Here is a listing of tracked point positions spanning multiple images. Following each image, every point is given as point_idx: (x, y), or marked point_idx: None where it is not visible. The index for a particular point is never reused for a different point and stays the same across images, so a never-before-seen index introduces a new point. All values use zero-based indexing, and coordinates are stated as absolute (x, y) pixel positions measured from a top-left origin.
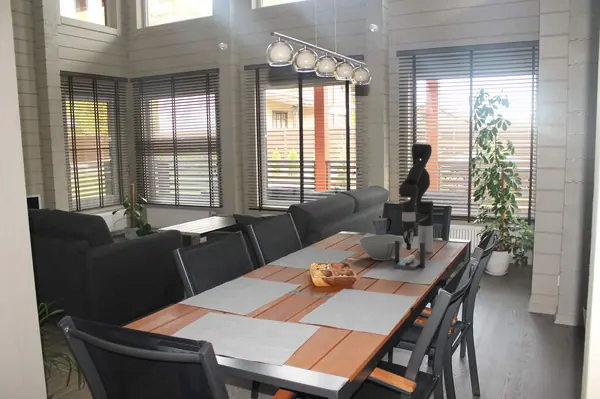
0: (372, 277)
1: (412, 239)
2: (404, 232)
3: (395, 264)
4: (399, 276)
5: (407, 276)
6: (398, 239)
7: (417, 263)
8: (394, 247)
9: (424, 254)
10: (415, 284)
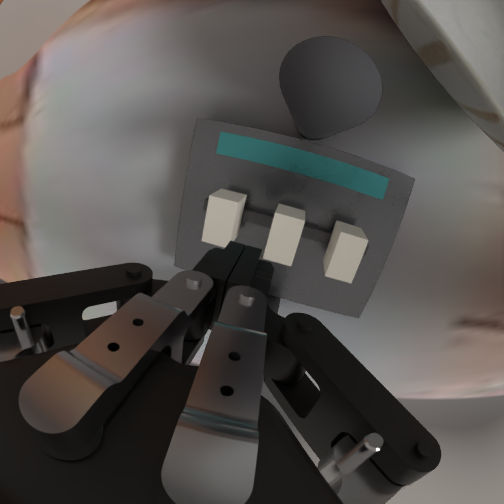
0: (34, 89)
1: (288, 393)
2: (23, 388)
3: (199, 124)
4: (61, 190)
5: (71, 225)
6: None
7: None
8: (445, 81)
9: None
10: (22, 260)
